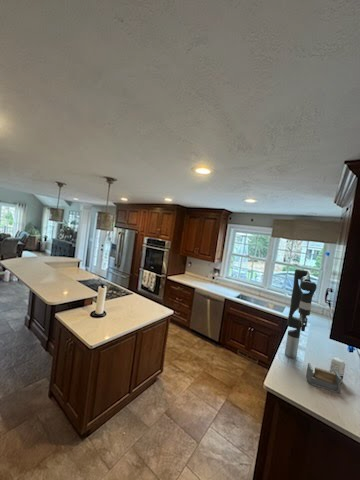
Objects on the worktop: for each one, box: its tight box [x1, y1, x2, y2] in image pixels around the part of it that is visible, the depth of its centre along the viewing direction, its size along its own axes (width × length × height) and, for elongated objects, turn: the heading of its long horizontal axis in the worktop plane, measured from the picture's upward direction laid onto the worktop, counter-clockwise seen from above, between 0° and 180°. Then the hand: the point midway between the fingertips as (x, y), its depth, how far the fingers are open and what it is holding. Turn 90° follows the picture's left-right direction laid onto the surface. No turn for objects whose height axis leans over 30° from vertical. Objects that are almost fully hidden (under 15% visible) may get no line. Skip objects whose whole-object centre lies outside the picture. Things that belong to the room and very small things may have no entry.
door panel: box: [313, 366, 336, 384], centre depth 148 cm, size 3×12×9 cm, turn 69°
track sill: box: [305, 362, 342, 394], centre depth 148 cm, size 9×18×10 cm, turn 69°
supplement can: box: [329, 356, 346, 383], centre depth 156 cm, size 8×8×15 cm
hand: (301, 328), depth 159 cm, fingers open, 8 cm apart
